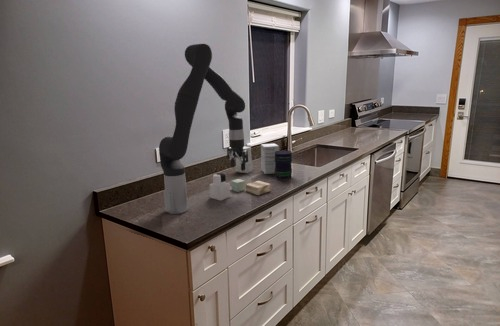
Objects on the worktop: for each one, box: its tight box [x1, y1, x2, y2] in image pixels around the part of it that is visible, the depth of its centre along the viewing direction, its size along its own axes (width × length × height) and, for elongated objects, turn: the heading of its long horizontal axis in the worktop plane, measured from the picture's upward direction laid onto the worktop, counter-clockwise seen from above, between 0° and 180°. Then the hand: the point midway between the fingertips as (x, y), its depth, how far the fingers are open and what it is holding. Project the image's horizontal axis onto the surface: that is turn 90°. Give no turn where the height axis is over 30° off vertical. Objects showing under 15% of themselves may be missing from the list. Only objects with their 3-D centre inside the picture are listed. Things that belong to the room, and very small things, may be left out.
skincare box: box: [235, 145, 253, 174], centre depth 217 cm, size 8×7×16 cm
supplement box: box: [260, 143, 280, 175], centre depth 215 cm, size 10×9×17 cm
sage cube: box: [230, 178, 246, 193], centre depth 185 cm, size 5×5×5 cm
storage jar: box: [274, 149, 293, 181], centre depth 203 cm, size 10×10×15 cm
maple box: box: [245, 180, 272, 196], centre depth 182 cm, size 9×9×4 cm
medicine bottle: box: [209, 172, 231, 202], centre depth 173 cm, size 7×7×12 cm
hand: (237, 168), depth 182 cm, fingers open, 8 cm apart
